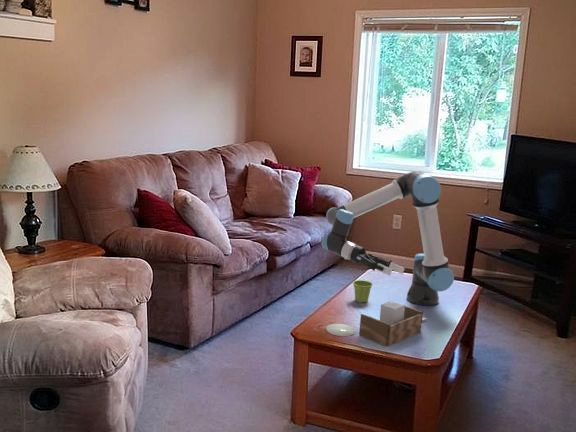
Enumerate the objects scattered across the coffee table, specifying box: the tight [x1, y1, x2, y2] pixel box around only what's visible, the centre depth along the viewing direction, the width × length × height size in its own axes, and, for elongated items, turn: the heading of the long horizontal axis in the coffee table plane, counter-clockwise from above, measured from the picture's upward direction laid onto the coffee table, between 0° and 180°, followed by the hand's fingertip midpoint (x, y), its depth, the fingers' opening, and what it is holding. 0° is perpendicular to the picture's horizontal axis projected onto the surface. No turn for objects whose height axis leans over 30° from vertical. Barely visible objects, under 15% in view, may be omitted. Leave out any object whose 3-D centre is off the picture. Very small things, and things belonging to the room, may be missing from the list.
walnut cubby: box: [358, 305, 424, 347], centre depth 250 cm, size 24×14×9 cm, turn 135°
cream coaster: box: [326, 323, 356, 337], centre depth 251 cm, size 12×12×1 cm
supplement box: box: [379, 300, 406, 325], centre depth 250 cm, size 7×7×13 cm
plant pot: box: [352, 279, 374, 303], centre depth 289 cm, size 9×9×9 cm
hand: (397, 271), depth 252 cm, fingers open, 13 cm apart
